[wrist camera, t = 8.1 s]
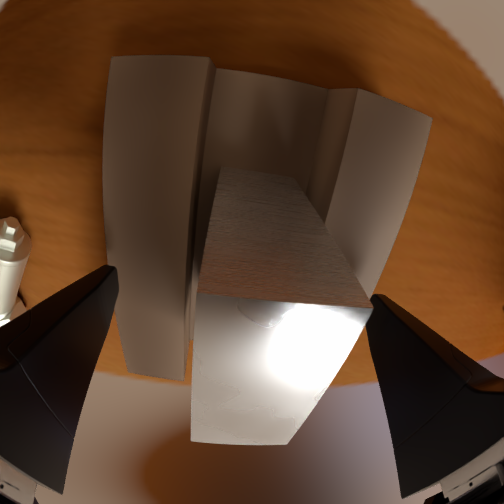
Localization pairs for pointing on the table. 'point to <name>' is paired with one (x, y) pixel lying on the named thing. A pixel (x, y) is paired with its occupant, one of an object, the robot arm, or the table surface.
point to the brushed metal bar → (268, 312)
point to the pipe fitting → (12, 267)
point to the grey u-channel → (240, 157)
